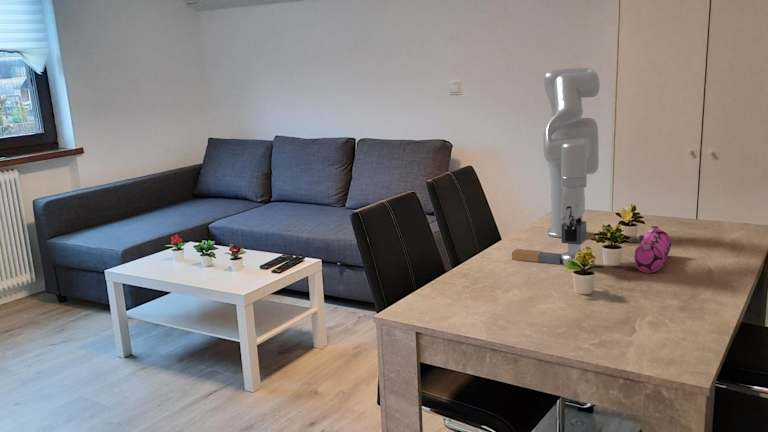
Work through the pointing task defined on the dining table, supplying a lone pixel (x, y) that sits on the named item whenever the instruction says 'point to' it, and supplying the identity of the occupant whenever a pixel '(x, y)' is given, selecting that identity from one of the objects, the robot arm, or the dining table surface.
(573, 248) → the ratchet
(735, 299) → the dining table surface
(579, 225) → the dark slate cube
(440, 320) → the dining table surface
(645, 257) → the pencil case
